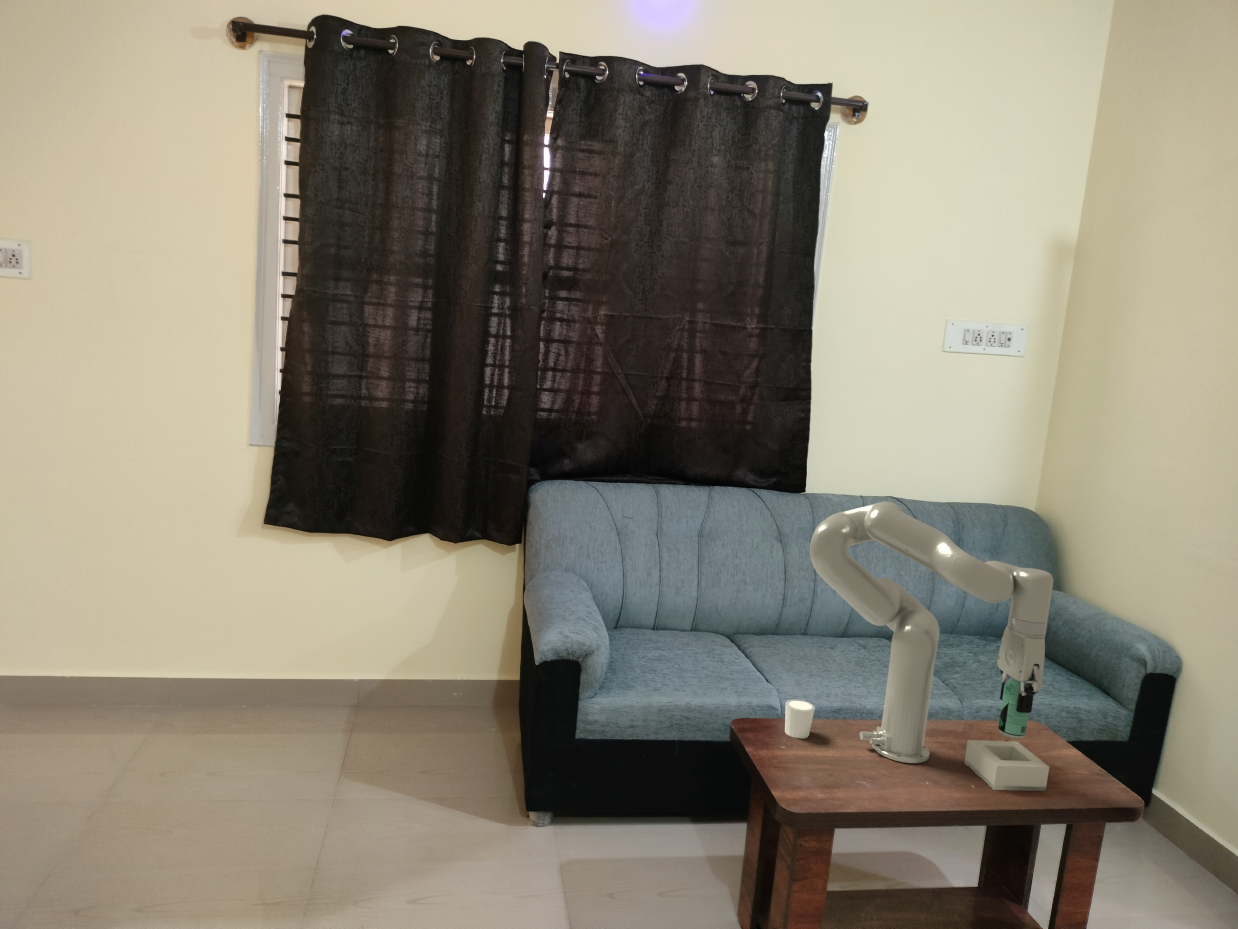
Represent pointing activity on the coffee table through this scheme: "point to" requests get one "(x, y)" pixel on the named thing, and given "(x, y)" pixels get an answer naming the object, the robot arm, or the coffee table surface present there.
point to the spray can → (1012, 711)
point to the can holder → (1006, 765)
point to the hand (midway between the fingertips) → (1015, 705)
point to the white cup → (798, 718)
